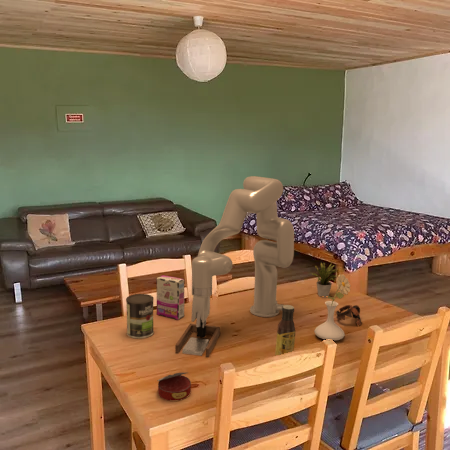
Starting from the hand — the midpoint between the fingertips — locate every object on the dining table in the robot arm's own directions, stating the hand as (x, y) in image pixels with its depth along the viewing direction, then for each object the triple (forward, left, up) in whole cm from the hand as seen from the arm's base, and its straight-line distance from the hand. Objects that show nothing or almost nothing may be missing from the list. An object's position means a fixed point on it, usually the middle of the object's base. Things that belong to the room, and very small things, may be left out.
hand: (201, 336), depth 181 cm
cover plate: (0, +8, -2) cm, 8 cm away
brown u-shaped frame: (0, +4, -1) cm, 4 cm away
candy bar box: (+18, -18, -1) cm, 25 cm away
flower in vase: (-48, -14, -1) cm, 50 cm away
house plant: (-45, -58, -1) cm, 74 cm away
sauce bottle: (-32, +10, -1) cm, 34 cm away
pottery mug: (-56, -31, -1) cm, 64 cm away
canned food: (-1, +37, -1) cm, 37 cm away
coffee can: (+24, +1, -1) cm, 24 cm away
